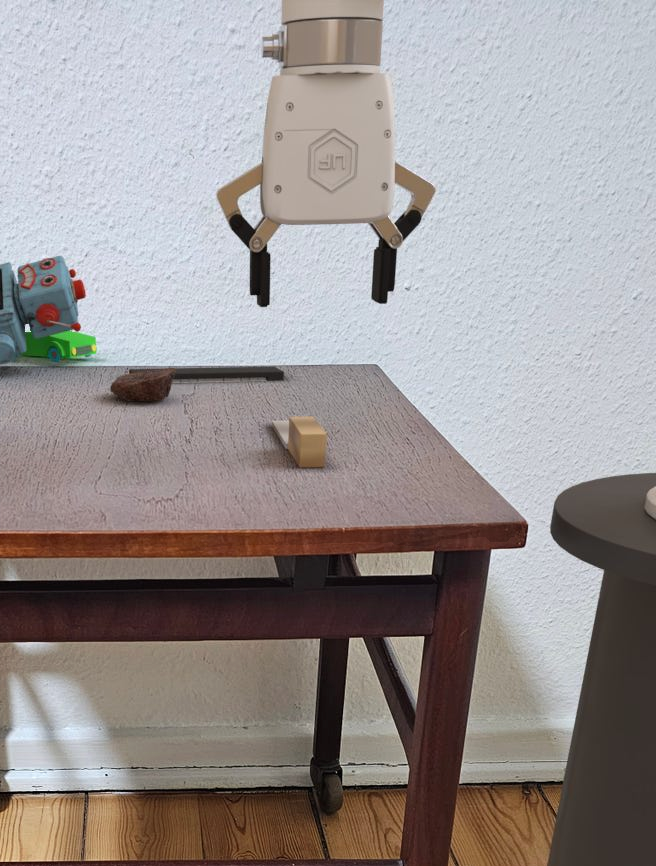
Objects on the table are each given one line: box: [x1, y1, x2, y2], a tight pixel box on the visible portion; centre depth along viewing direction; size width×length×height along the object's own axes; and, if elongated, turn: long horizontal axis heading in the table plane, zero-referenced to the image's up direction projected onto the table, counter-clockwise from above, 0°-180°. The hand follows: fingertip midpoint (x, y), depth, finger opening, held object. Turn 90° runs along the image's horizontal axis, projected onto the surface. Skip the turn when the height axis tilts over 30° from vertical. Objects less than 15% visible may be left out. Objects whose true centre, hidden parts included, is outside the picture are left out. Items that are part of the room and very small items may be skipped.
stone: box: [109, 367, 176, 402], centre depth 126 cm, size 7×7×3 cm
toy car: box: [13, 330, 98, 363], centre depth 147 cm, size 11×7×7 cm, turn 58°
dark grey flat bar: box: [128, 366, 285, 384], centre depth 138 cm, size 18×1×5 cm
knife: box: [271, 416, 328, 469], centre depth 108 cm, size 17×3×3 cm, turn 3°
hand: (321, 303), depth 98 cm, fingers open, 9 cm apart
